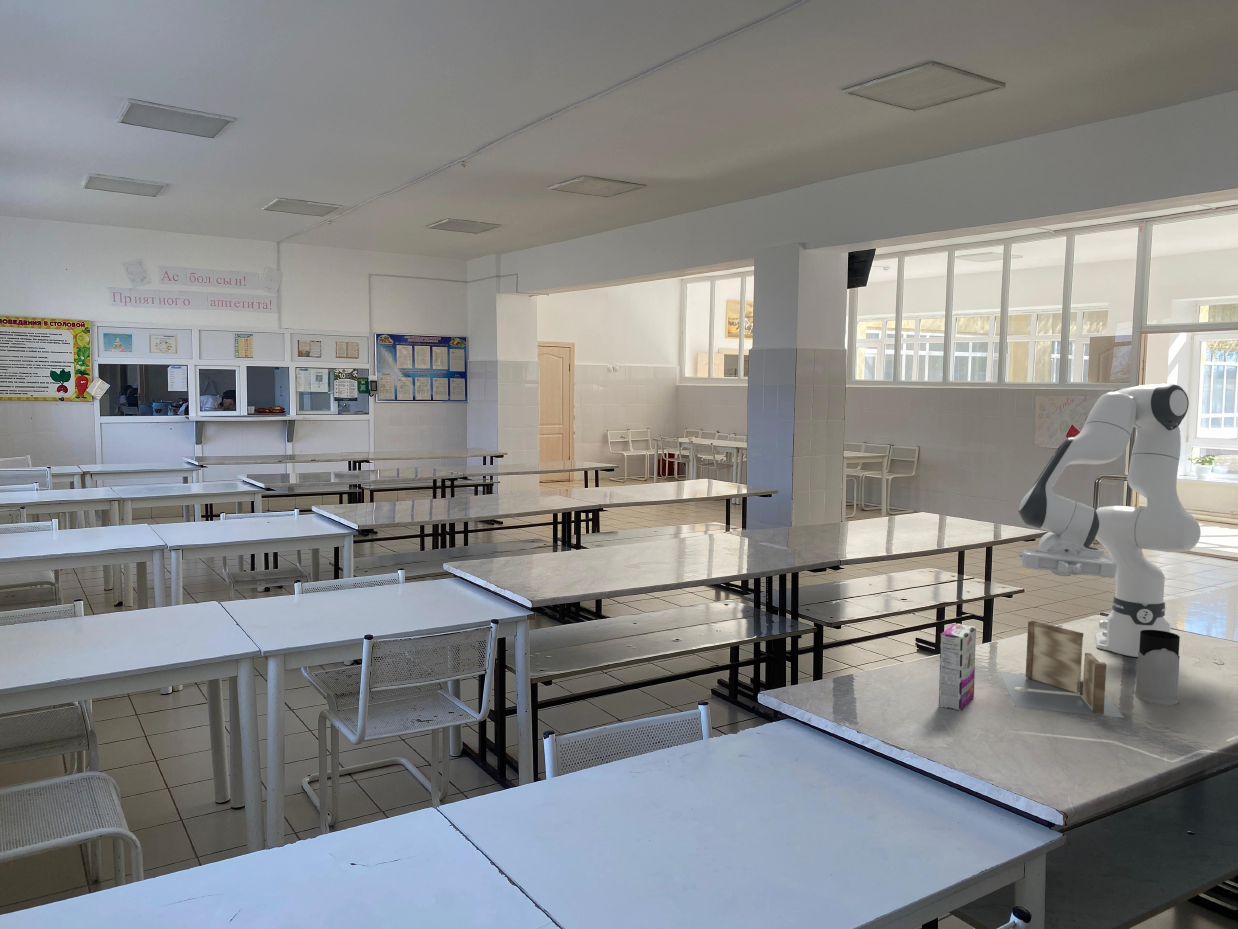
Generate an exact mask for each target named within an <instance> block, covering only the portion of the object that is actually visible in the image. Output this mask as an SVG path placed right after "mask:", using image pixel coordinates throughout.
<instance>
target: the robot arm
mask: <svg viewBox="0 0 1238 929" xmlns="http://www.w3.org/2000/svg"><path fill="white" fill-rule="evenodd" d="M1189 406H1190V404H1189V397H1188V394H1187V392H1186V391H1185V390H1184V389H1183V388H1182V386H1180V385H1178V384H1174V383H1160V384H1140V385H1137V386H1131V387H1125V388H1122V389H1121V388H1118V389H1113V390H1110V391H1108V392H1106V393H1103V394H1102V395H1101V396H1099V397H1098V399H1097V400H1096V402H1095V403H1094V405H1093V407H1092V408H1091V409H1090V412H1089V414H1088V415H1087V418H1086V419H1085V422H1084V424H1083V427H1082V429H1081V431H1080V432H1079V433H1078V434H1077V435H1075V436H1073V437H1072V436H1071V437H1066V438H1065V440H1063V442H1062V443H1061V444H1060V445H1059V446H1058V448H1057V449H1055V450H1056V451H1055V452H1054V453H1053V455H1052V456H1051V457H1050V459H1049V461H1048V463H1046V465H1045V467H1044V468H1043V470H1042V472H1041V473H1040V474H1039V476H1038V478H1037V479H1036V481H1035V482H1034V484H1033V486H1032V487H1031V488H1030V490H1029V491H1028V492H1027V493H1026V494H1025V495H1024V496H1023V497H1022V498H1021V499H1022V500H1021V502H1020V504H1019V507H1018V513H1019V516H1020V518H1021V520H1022V522H1023V523H1024V524H1025V525H1027V526H1030V527H1034V528H1038V529H1042V530H1044V531H1047V533H1044V534H1043V535H1042V536H1041V538H1040V539H1039V542H1038V545H1037V549H1034V548H1033V549H1032V548H1026V549H1024V550H1023V551H1022V552H1020V551H1019V553H1018V557H1019V558H1021V566H1022V567H1023V568H1026V569H1033V570H1039V571H1040V570H1041V571H1049V572H1051V573H1052V574H1054V575H1055V576H1058V577H1065V578H1066V577H1071V576H1072V577H1075V576H1092V577H1101V578H1102V577H1103V578H1109V579H1111V578H1112V579H1113V578H1115V595H1114V596H1113V600H1112V606H1111V612H1110V613H1109V614H1108V615H1107V616H1106V618H1105V620H1100V621H1099V629H1100V630H1104V631H1102V632H1101V631H1100V632H1096V633H1095V642H1096V648H1097V649H1101V650H1105V651H1110V652H1113V653H1116V654H1119V655H1123V656H1128V657H1135V658H1138V652H1139V647H1140V631H1142V630H1159V631H1166V632H1170V633H1171V624H1170V622H1168V621H1167V619H1166V618H1164V616H1165V615H1166V609H1167V608H1166V602H1165V601H1164V600H1165V599H1164V597H1165V583H1166V582H1165V581H1166V580H1165V579H1166V576H1165V574H1164V572H1163V570H1162V569H1161V568H1160V567H1158V566H1157V565H1156V564H1155V563H1152V562H1151V561H1149V560H1148V559H1147V557H1145V555H1144V552H1143V550H1148V551H1149V550H1150V551H1157V552H1165V553H1181V552H1183V553H1184V552H1189V551H1191V550H1193V549H1194V548H1195V547H1196V546H1197V544H1198V543H1199V541H1200V539H1201V526H1200V524H1199V522H1198V520H1197V518H1195V517H1194V516H1193V515H1192V514H1190V512H1188V511H1187V509H1186V508H1185V507H1184V506H1183V505H1182V502H1181V501H1180V499H1179V495H1178V493H1177V492H1178V490H1177V483H1178V482H1177V480H1178V472H1179V471H1178V470H1179V465H1180V458H1181V445H1182V444H1181V443H1182V442H1181V440H1182V438H1181V429H1180V425H1181V423H1182V421H1183V420H1184V419H1185V417H1186V414H1187V413H1188V410H1189ZM1134 428H1135V430H1136V436H1135V440H1134V443H1133V446H1132V451H1131V454H1130V455H1131V456H1130V461H1129V467H1128V471H1127V472H1128V473H1127V479H1126V481H1127V484H1128V486H1129V488H1130V489H1131V490H1133V491H1134V492H1135V493H1137V494H1139V496H1142V497H1144V498H1146V502H1147V503H1146V507H1138V506H1136V507H1135V506H1126V505H1108V506H1100V507H1099V508H1097V509H1095V508H1094V507H1091V506H1090V505H1086V504H1085V503H1082V502H1079V501H1076V500H1073V499H1071V498H1067V497H1065V496H1062V495H1060V494H1057V493H1055V492H1054V491H1053V488H1054V486H1055V484H1056V483H1057V481H1058V479H1059V478H1060V476H1061V474H1062V473H1063V472H1064V470H1065V469H1066V467H1067V466H1070V465H1081V464H1082V465H1102V464H1107V463H1111V462H1114V461H1115V460H1118V459H1119V458H1120V457H1121V456H1123V454H1124V452H1126V451H1125V450H1126V448H1127V447H1128V444H1129V441H1130V439H1131V436H1132V434H1133V429H1134ZM1095 540H1097V541H1098V542H1099V543H1100V544H1101V545H1102V546H1103V547H1104V549H1105V550H1106V551H1107V552H1108V554H1109V555H1108V554H1105V551H1104V550H1103V549H1102V548H1101V549H1100V548H1096V547H1092V546H1091V545H1092V543H1093V542H1094V541H1095Z"/></svg>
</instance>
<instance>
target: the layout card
mask: <svg viewBox="0 0 1238 929" xmlns="http://www.w3.org/2000/svg"><path fill="white" fill-rule="evenodd" d="M999 674H1000V676H1001V678H1002V680H1003V683H1004V685H1005V687H1006V689H1007V692H1008V693H1009V696H1010V699H1011V701H1012V703H1013V705H1014V707H1016V708H1025V709H1034V710H1042V711H1051V712H1052V711H1053V712H1063V713H1069V714H1070V713H1071V714H1080V715H1091V716H1099V717H1107V718H1108V717H1110V718H1118V719H1119V718H1120V719H1125V717H1124V716H1123V714H1122V713H1121V712H1120V711H1119V709H1118V708H1117V707H1116V706H1115V705H1114V703H1113V702H1112V700H1111V699H1110V698H1109V697H1108V695H1107V694H1106V693H1105V699H1104V714H1097V713H1094V712H1093V711H1092V710H1093V708H1092V707H1091V706H1090V705H1089V704H1088V702H1087V701H1086V700H1085V699H1084V698H1083V696H1082V695H1080V692H1078V693H1076V692H1073V691H1070V690H1066V689H1063V688H1060V687H1057V686H1053V685H1050V684H1047V683H1044V682H1040V681H1037V680H1034V679H1029V678H1026V673H1025V674H1024V673H1014V672H1013V673H1012V672H1003V671H999ZM1081 681H1083V679H1081Z"/></svg>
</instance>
